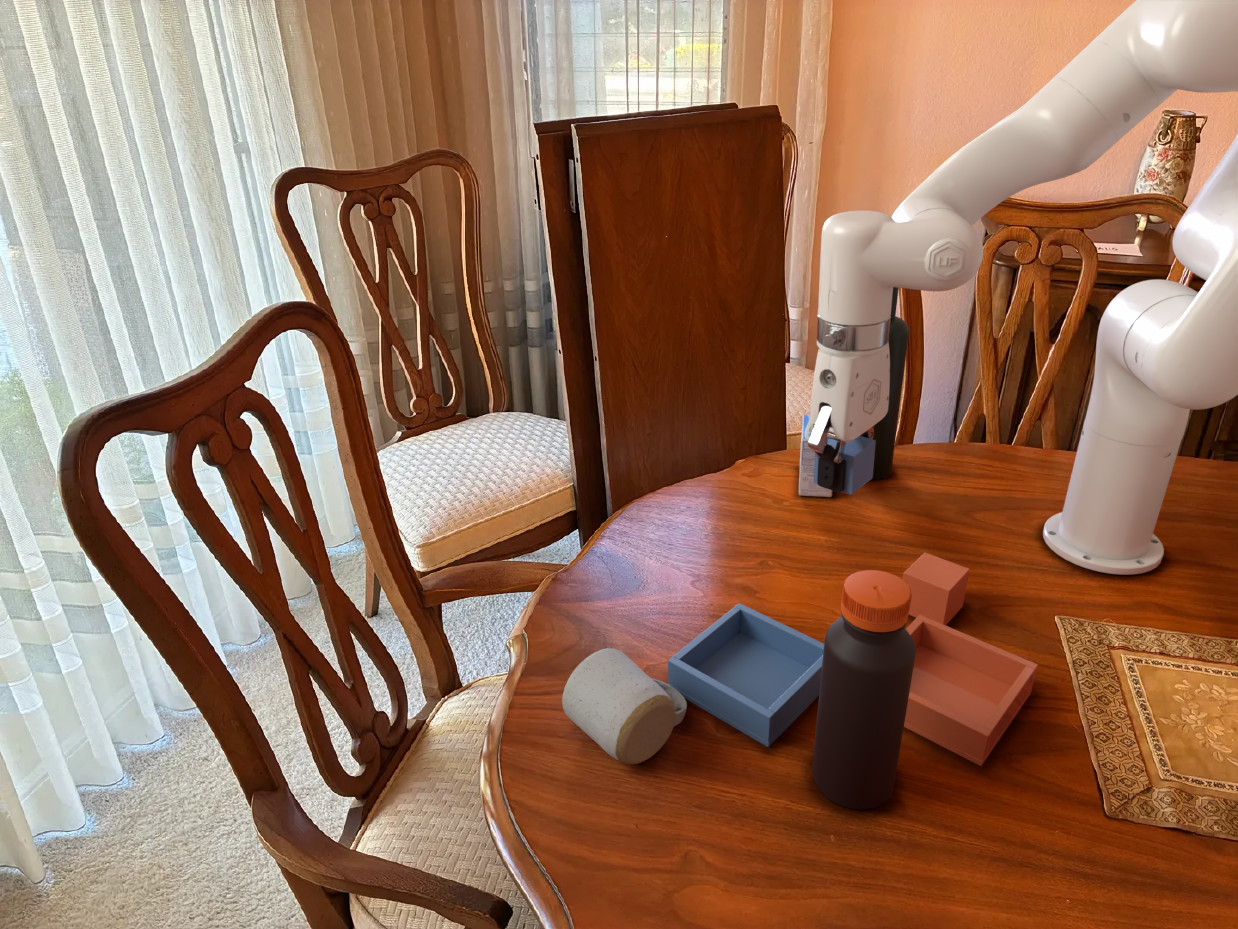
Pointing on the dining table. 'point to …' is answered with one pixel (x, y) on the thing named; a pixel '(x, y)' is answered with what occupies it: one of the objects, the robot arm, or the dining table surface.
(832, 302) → the robot arm
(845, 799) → the black bottle
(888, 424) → the wine bottle
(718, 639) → the blue bin
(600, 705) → the ceramic mug
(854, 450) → the blue block
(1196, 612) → the dining table surface
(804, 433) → the medicine box
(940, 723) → the terracotta bin
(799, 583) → the dining table surface
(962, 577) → the terracotta block
